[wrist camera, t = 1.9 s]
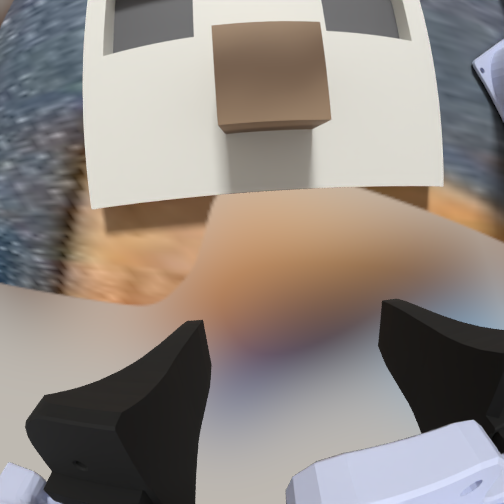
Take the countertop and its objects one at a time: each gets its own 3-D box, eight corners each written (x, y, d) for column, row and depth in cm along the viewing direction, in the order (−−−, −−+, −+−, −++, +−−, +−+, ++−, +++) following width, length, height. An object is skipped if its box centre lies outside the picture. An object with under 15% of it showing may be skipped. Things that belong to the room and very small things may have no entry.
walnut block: (312, 129, 17) (331, 119, 13) (225, 134, 17) (217, 125, 13) (304, 50, 16) (320, 21, 12) (219, 54, 16) (211, 25, 12)
